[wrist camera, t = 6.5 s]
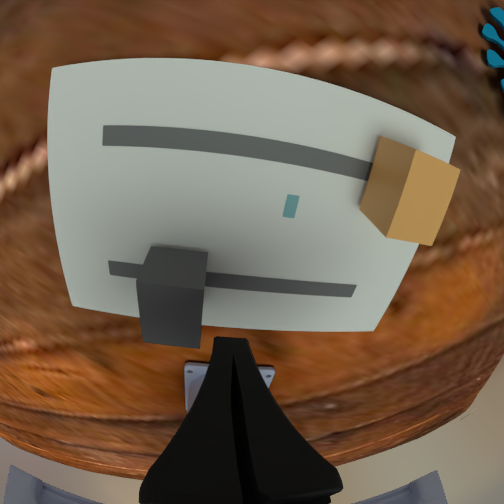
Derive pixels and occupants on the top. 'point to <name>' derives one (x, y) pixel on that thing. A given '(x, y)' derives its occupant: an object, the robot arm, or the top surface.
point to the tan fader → (408, 192)
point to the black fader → (172, 296)
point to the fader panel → (226, 189)
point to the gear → (494, 40)
